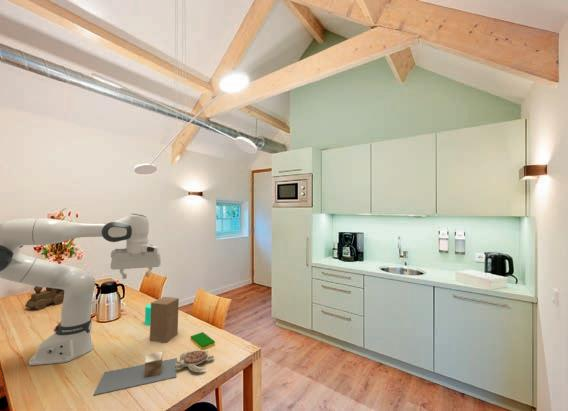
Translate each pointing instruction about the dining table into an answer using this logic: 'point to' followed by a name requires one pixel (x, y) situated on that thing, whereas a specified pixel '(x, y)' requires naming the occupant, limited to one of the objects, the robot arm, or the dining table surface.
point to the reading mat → (133, 377)
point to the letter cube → (153, 364)
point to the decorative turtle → (193, 360)
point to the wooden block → (164, 319)
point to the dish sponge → (202, 341)
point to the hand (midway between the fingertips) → (136, 277)
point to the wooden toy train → (45, 297)
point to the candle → (147, 314)
